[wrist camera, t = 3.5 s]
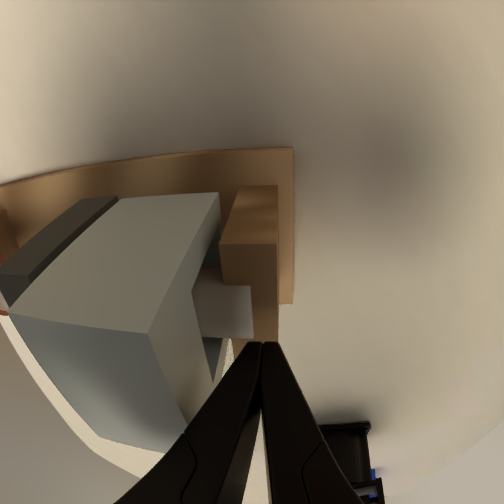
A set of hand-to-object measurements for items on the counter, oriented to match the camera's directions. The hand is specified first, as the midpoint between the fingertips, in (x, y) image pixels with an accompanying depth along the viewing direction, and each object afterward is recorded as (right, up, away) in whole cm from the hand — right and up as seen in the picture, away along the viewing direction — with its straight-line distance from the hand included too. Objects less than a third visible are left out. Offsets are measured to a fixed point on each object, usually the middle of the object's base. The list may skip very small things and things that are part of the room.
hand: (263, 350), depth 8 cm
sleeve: (-3, +2, +4) cm, 6 cm away
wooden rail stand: (-8, +4, +7) cm, 12 cm away
